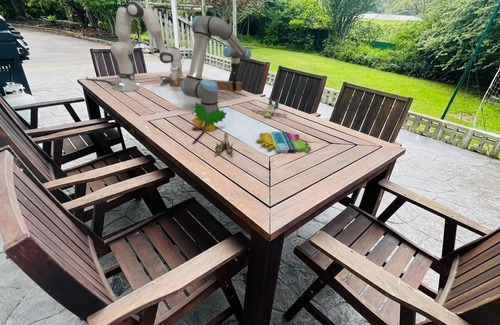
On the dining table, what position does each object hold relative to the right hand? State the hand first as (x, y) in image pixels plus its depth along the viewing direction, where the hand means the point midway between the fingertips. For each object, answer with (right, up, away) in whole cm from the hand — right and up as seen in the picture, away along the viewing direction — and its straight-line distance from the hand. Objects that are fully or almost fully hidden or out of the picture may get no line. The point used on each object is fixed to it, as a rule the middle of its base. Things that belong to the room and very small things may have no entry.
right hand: (234, 89), depth 238 cm
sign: (+33, -55, -85) cm, 106 cm away
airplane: (-67, +16, +29) cm, 74 cm away
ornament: (-11, -45, -73) cm, 87 cm away
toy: (+30, -28, -37) cm, 55 cm away
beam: (-26, +1, 0) cm, 26 cm away
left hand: (-52, +6, -1) cm, 52 cm away
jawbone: (+1, -60, -99) cm, 116 cm away
